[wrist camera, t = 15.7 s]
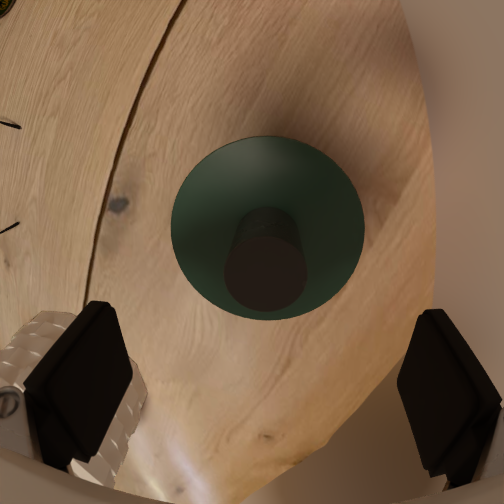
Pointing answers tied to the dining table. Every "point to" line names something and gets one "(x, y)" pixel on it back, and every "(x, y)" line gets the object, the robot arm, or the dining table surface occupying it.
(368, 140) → the dining table surface
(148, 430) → the dining table surface
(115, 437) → the basket
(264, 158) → the lid
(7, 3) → the green soda can
